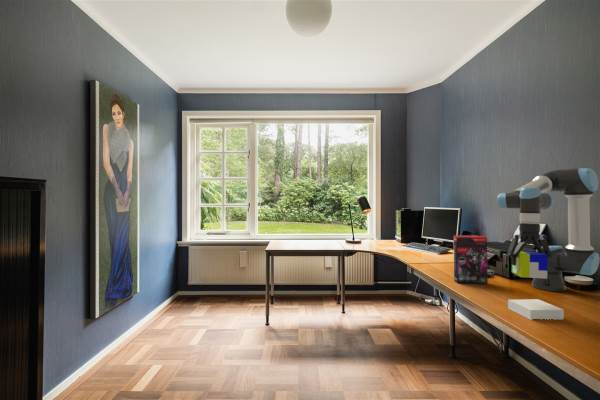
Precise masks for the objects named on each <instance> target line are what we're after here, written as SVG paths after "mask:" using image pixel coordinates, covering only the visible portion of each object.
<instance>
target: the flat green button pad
mask: <svg viewBox="0 0 600 400" xmlns="http://www.w3.org/2000/svg"><path fill="white" fill-rule="evenodd" d="M492 270H493V269H488V268H487V273H488V274H487V275H488V277H492V276H493V275H494V274H495V273H494V271H495V270H493V271H492Z"/></svg>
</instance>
